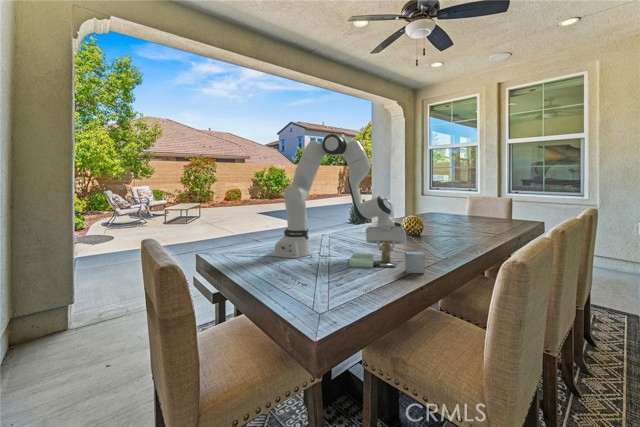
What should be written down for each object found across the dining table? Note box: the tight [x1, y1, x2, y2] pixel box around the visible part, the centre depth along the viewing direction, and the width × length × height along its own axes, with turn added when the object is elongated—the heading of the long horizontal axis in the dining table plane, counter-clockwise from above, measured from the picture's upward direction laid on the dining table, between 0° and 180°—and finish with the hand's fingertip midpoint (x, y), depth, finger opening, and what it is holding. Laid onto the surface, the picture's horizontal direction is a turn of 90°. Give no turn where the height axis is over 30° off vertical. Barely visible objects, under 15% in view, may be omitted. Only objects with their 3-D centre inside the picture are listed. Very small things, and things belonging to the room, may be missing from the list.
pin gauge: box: [373, 261, 397, 268], centre depth 145 cm, size 10×2×2 cm, turn 79°
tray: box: [348, 253, 375, 269], centre depth 151 cm, size 11×15×2 cm
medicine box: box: [404, 251, 426, 274], centre depth 136 cm, size 8×4×9 cm, turn 84°
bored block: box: [381, 242, 391, 263], centre depth 153 cm, size 4×4×9 cm
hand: (386, 250), depth 153 cm, fingers closed on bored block, 4 cm apart
